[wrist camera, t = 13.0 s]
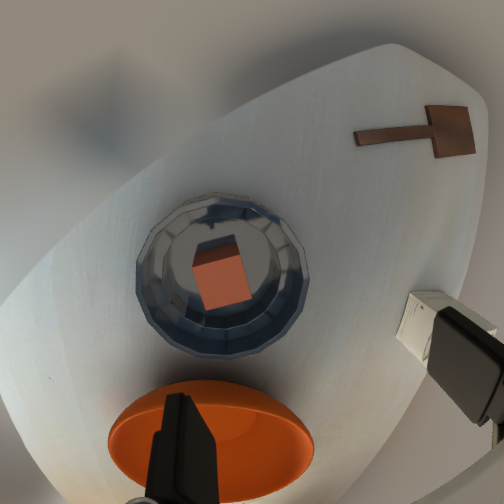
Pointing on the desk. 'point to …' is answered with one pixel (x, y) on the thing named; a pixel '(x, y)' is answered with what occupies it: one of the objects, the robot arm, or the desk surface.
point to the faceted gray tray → (255, 266)
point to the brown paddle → (431, 132)
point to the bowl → (222, 437)
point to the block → (221, 276)
